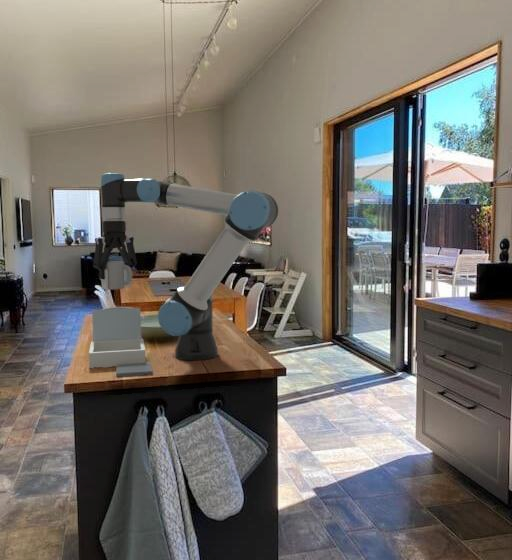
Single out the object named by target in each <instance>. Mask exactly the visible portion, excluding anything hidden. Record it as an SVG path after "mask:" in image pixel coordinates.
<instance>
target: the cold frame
mask: <svg viewBox="0 0 512 560" xmlns="http://www.w3.org/2000/svg"><path fill="white" fill-rule="evenodd" d="M91 313H92V314H91V315H92V341H91V342H90V346H89V351H88V364H89V365H88V367H89V369H95V368H94V367H102V368H113V367H112V366H116V365H119V364H135V363H147V362H146V347H145V343H144V342H145V341H144V339H143V338H142V322H141V321H142V319H141V318H142V317H141V308H140V307H130V308H125V309H104V308H102V309H92V310H91Z"/></svg>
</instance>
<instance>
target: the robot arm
mask: <svg viewBox="0 0 512 560" xmlns="http://www.w3.org/2000/svg"><path fill="white" fill-rule="evenodd" d="M100 179H101V180H100V192H101V213H102V220H104V221H103V222H102V232H103V235H102V237H96V238H94V243H95V248H94V249H95V251H94V259H93V265H92V268H94V269H97V270H98V275H99V276H98V279H99V280H100V281H101V290H107V289H108V270H106V269H105V268H106V265H107V262H109V259H110V256H111V253H112V251H113V250H114V249H117V250H118V251H119V254H120V257H122V258H121V259H122V260H123V261H122V262H124V265H128V266H129V267H130V268H131V270H132V271H133V268H134V267H135V266H136V265H137V264H138V261H137V256H136V251H135V245H134V240H135V239H134V236H127V235H126V231H127V225H126V224H127V223H126V203H153V204H159V205H165V206H166V205H167V206H172V207H178V208H183V209H188V210H194V211H200V212H205V213H211V214H215V215H219V216H220V215H221V216H225V218H224V219H223V221H224V222H223V223H224V229H223V230H222V231H221V233H220V234H219V236H218V237H217V239H216V240H215V241H214V243H213V244H212V245H211V248H210V249H209V250H208V252H207V253H206V255H205V256H204V257H203V259H202V260H201V262H200V264H198V266H197V268H196V269H195V271H194V272H193V273H192V276H191V277H190V278H189V280H188V281H187V282H186V284H185V285H183V286H179V287H177V288H176V291H175V292H174V293H173V294H172V296H171V298H169V300H167V301H166V302H164V303H163V304H162V305H161V306H159V307H160V308H159V310H158V313H157V319H158V323H159V326H160V327H161V329H162V331H164V332H165V333H166V334H168V335H170V336H173V337H178V339H177V342H176V343H177V344H176V347H175V349H174V356H175V358H176V359H179V360H185V361H188V360H189V361H202V360H204V361H205V360H209V359H213V358H215V357H218V355H219V349H218V346H217V344H216V339H215V337H214V334H213V333H214V331H213V327H214V326H213V301H214V300H213V295H212V294H213V293H214V291H215V290H216V289H217V287H218V286H219V284H220V283H221V281H222V280H223V279H224V277H225V276H226V274H227V273H228V272H229V270H230V268H231V267H232V265H233V264H234V263H235V261H236V260H237V259H238V258H239V256H240V254H241V253H242V252H243V250H244V249H245V247H246V245H247V244H248V243H252V242H256V239H257V238H258V237H259V235H260V234H261V233H262V231H264V229H266V228H268V227H271V226H272V225H273V224H274V223H275V222H276V220H277V218H278V216H279V205H278V203H277V200H275V198H274V197H272V195H270V194H268V193H265V192H260V191H257V190H246V191H244V192H243V191H242V192H240V193H239V194H235V193H230V192H225V191H224V192H223V191H218V190H217V191H216V190H212V189H208V188H207V189H206V188H200V187H199V188H198V187H194V186H189V185H188V186H187V185H183V184H176V183H169V182H166V181H159V180H158V181H157V179H155V178H148V177H144V178H133V179H132V178H129V179H127V178H125V175H124V174H123V173H121V172H119V173H118V172H116V173H115V172H114V173H112V172H106V173H103V174H102V175H101V177H100ZM104 243H105V244H104ZM127 277H128V273H127V270H126V269H124V280H126V279H127ZM131 286H132V281H131V282H130V283H129V284H126V285H125V286H124V287H128V288H131Z"/></svg>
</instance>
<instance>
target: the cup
mask: <svg viewBox="0 0 512 560" xmlns="http://www.w3.org/2000/svg"><path fill="white" fill-rule="evenodd" d="M105 269H106V270H108V289H106V290H111V291H113V290H122V289H124V288H125V287H126V286H125V285H126V284H129V283H130V282H131V283H132V280H133V269H132V270H131V268H130V267H129V266H128V265H125V263H124V261H118V260H117V261H108V262H107V265H106V268H105ZM124 269H126V270H127V273H128V277H127V279H126V280H124Z"/></svg>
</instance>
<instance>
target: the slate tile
mask: <svg viewBox="0 0 512 560" xmlns="http://www.w3.org/2000/svg"><path fill="white" fill-rule="evenodd" d="M151 363H152V362H146V363H135V364H119V365H116V369H115V376H116V378H118V377H119V376H120V377H132V376H133V377H134V376H145V375H144V374H149V375H153V372H154V371H153V367H152V364H151Z"/></svg>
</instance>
